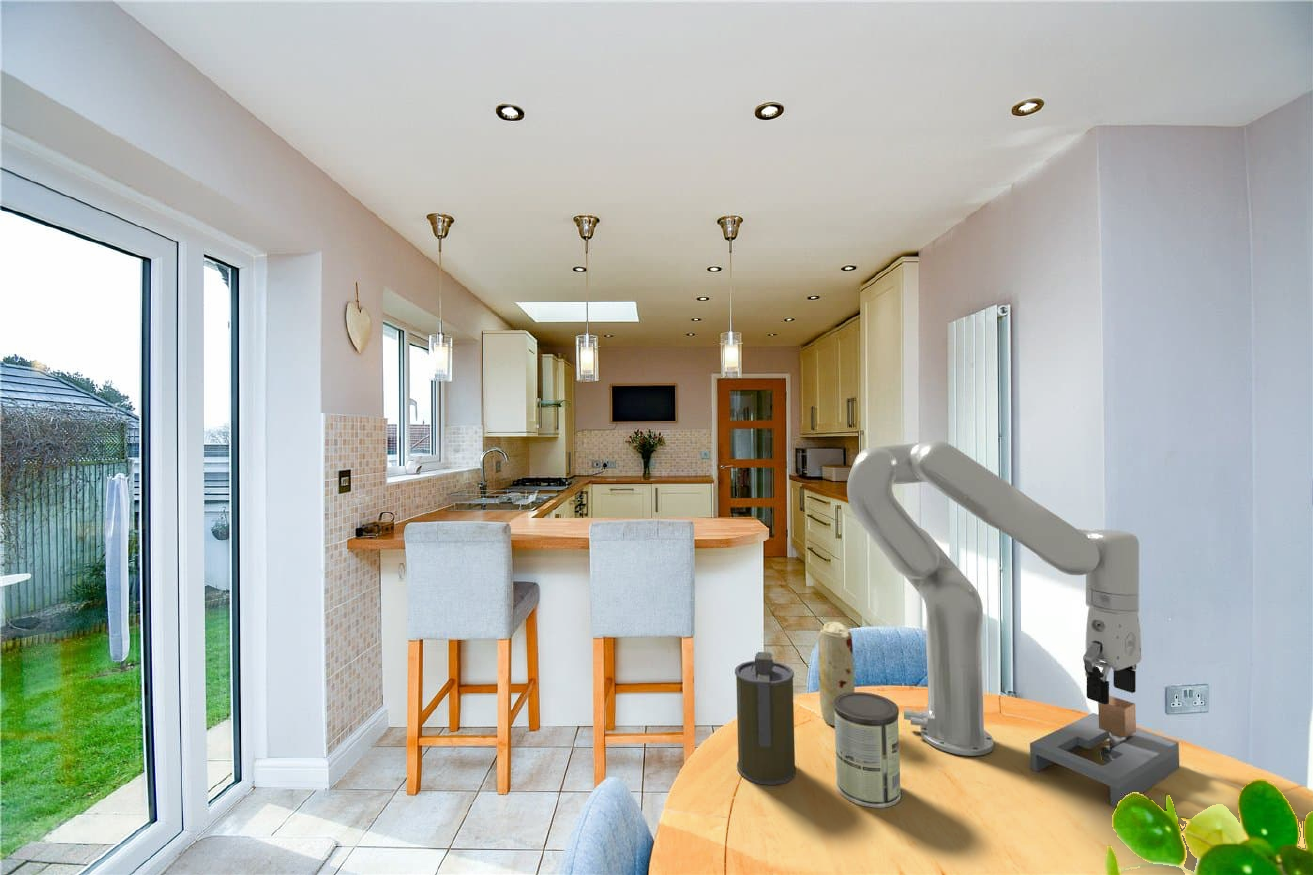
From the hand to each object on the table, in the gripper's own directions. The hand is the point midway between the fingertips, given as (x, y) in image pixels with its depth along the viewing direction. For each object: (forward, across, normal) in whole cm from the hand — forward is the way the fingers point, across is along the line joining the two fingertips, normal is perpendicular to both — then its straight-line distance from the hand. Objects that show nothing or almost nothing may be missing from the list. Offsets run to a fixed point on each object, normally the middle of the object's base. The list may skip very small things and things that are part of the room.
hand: (1111, 695), depth 104 cm
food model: (+13, -30, +36) cm, 49 cm away
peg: (+12, +1, -1) cm, 12 cm away
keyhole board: (+12, -4, -1) cm, 12 cm away
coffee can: (+13, -44, +16) cm, 49 cm away
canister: (+14, -54, +30) cm, 63 cm away
